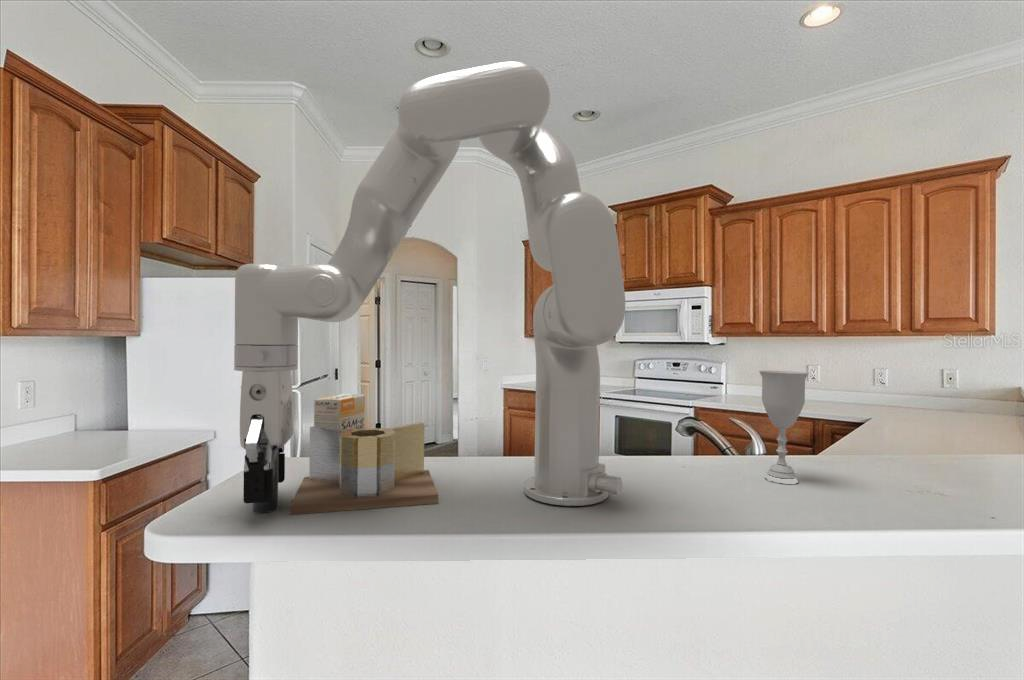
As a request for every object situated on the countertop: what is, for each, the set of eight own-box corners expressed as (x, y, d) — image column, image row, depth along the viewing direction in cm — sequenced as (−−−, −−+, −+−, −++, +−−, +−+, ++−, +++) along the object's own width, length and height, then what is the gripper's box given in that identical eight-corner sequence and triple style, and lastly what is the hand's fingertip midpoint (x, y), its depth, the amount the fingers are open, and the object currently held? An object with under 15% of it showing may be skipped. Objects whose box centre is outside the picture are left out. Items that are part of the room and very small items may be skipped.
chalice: (807, 479, 83) (809, 372, 83) (806, 489, 77) (808, 374, 77) (759, 472, 87) (761, 369, 87) (754, 481, 81) (756, 372, 81)
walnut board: (437, 503, 69) (438, 494, 69) (289, 514, 64) (289, 505, 64) (428, 477, 81) (428, 469, 81) (304, 484, 76) (304, 477, 76)
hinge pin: (287, 508, 66) (288, 430, 66) (257, 517, 63) (257, 435, 63) (272, 502, 68) (273, 427, 68) (242, 509, 65) (243, 431, 65)
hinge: (430, 492, 70) (431, 435, 70) (299, 501, 65) (299, 441, 65) (423, 471, 80) (423, 422, 80) (310, 478, 76) (310, 425, 76)
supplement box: (339, 483, 78) (340, 399, 77) (312, 480, 78) (312, 398, 78) (365, 469, 86) (366, 393, 86) (340, 467, 87) (340, 392, 86)
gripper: (285, 362, 58) (284, 512, 58) (306, 356, 75) (305, 472, 75) (213, 362, 56) (212, 517, 56) (251, 355, 73) (250, 475, 73)
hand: (265, 490), depth 65 cm, fingers open, 7 cm apart
